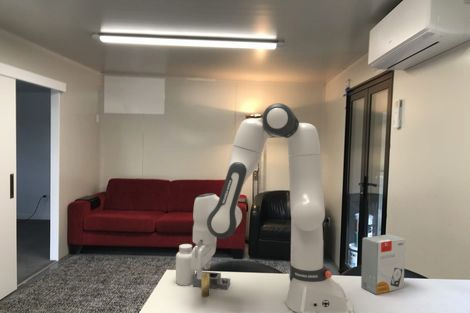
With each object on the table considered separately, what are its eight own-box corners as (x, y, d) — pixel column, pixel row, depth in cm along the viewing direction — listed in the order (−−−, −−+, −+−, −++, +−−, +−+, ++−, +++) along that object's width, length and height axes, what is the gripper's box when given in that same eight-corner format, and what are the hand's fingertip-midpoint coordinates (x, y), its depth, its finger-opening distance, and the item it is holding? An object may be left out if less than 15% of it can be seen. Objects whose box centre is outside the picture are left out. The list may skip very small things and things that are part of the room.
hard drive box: (376, 295, 117) (376, 242, 116) (360, 287, 124) (360, 237, 123) (404, 288, 123) (405, 238, 123) (388, 280, 130) (388, 233, 130)
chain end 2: (230, 283, 127) (230, 276, 127) (227, 289, 121) (227, 282, 121) (206, 281, 129) (206, 274, 129) (202, 287, 123) (202, 280, 123)
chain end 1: (220, 282, 128) (220, 271, 128) (217, 288, 122) (217, 276, 122) (197, 280, 130) (197, 269, 130) (192, 286, 124) (192, 274, 124)
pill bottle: (191, 286, 124) (191, 249, 124) (172, 284, 126) (172, 248, 126) (197, 278, 132) (197, 243, 132) (180, 277, 134) (179, 242, 133)
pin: (210, 293, 118) (210, 272, 118) (208, 297, 115) (208, 276, 115) (202, 293, 119) (202, 272, 118) (200, 296, 116) (200, 275, 116)
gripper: (204, 245, 106) (203, 286, 106) (219, 230, 126) (218, 264, 126) (186, 244, 107) (186, 284, 107) (204, 229, 127) (203, 263, 127)
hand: (203, 273), depth 117 cm, fingers open, 8 cm apart
